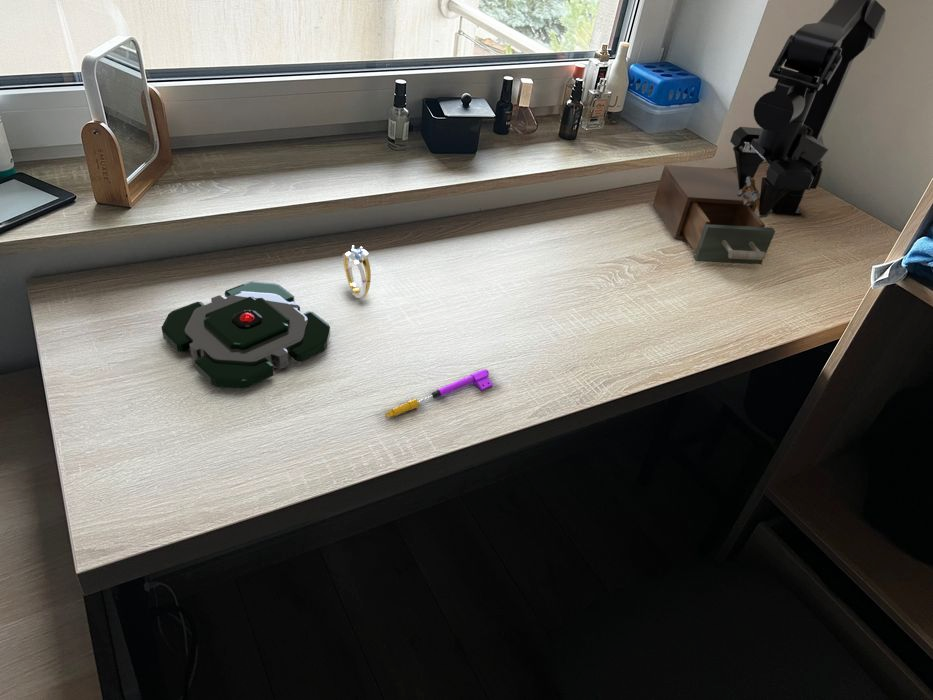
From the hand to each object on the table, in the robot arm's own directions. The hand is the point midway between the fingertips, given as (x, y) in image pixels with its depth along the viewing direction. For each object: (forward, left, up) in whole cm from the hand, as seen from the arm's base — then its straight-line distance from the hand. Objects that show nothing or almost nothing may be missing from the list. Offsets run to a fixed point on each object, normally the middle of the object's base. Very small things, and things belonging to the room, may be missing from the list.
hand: (752, 203), depth 125 cm
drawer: (0, -3, -10) cm, 10 cm away
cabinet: (-12, -3, -11) cm, 16 cm away
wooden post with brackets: (0, 0, -1) cm, 1 cm away
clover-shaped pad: (+29, -82, -11) cm, 87 cm away
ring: (+17, -68, -11) cm, 71 cm away
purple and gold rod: (+40, -56, -11) cm, 70 cm away
